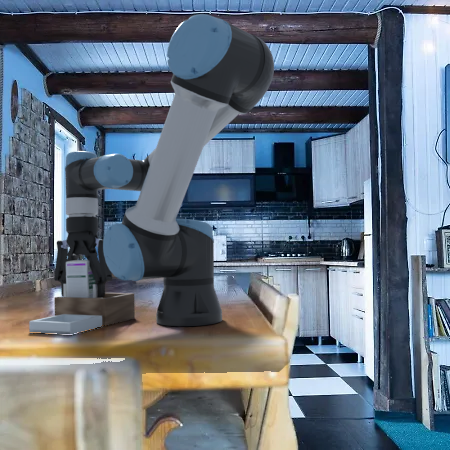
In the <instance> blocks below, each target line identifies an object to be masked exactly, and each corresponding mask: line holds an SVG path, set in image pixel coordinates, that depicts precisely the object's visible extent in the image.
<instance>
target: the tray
mask: <svg viewBox="0 0 450 450" xmlns="http://www.w3.org/2000/svg"><path fill="white" fill-rule="evenodd" d="M28 324H29V328H28V329H29V332H41V333H57V334H74V333H77V332H81V331H85V330H89V329H94V328H97V327H101V326H102V316H97V315H75V314H61V315H56V316H55V315H53V316H47V317H43V318H38V319H34V320H29V322H28ZM102 327H103V326H102ZM102 327H101V328H102ZM97 329H98V328H97ZM94 330H95V329H94Z"/></svg>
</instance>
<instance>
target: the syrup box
mask: <svg viewBox="0 0 450 450" xmlns="http://www.w3.org/2000/svg"><path fill="white" fill-rule="evenodd" d="M95 282H96V281H95V279H94V276H93V273H92V271H91V268H90V265H89V261H88V260H87V259H78V260H74V261H67V262H66V293H67V297H79V298H93V284H94V283H95Z"/></svg>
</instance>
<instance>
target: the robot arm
mask: <svg viewBox="0 0 450 450" xmlns="http://www.w3.org/2000/svg"><path fill="white" fill-rule="evenodd" d="M166 57H167V58H168V59H167V65H168V68H169V70H170V71H171V73H172V77H171V80H170V84H171V87H172V89H173V91H174V96H173V99H172V102H171V105H170V107H169V110H168V113H167V116H166V119H165V121H164V123H163V127H162V129H161V133H160V134H159V135H160V136H159V139H158V141H157V144H156V147H155V149H153V150H152V151H151V152H150V153H149V154H148V155H147V156H146V157H145V158H144V159H143V160H140V159H139V160H138V159H131V158H127V157H126V156H125V155H123V154H120V153H107V154H104V155H101V156H98V155H97V154H96V153H94V152H92V151H85V150H84V151H83V150H78V151H70V152H68V153H67V154H66V156H65V167H64V173H65V178H64V179H65V215H66V216H68V217H66V218H65V232H66V233H67V237H66V239H64V240H63V239H62V240H57V241H56V248H57V253H56V260H55V270H54V277H53V280H54V281H55V282H60V284H61V285H60V286H61V288H60V289H61V297H67V293H66V262H67V261H74V260H79V258H80V257H81V256H84V257H85V259H86V260H88V261H89V265H90V268H91V271H92V273H93V276H94V279H95V281H96V282H95V283H94V284H93V298H103V297H105V293H106V284H107V283H108V282H111V281H112V280H113V276H114V277H115V278H117V279H118V280H121V281H135V282H139V281H141V280H151V279H152V280H153V279H162V278H163V287H162V288H163V289H162V293H161V297H160V300H159V304H158V307H157V310H156V312H155V314H156V316H155V317H156V318H155V320H156V321H155V322H156V324H159V325H162V326H168V327H169V326H170V327H171V326H172V327H195V326H196V327H199V326H200V327H201V326H208V325H213V324H218V323H221V322H222V321H223V311H222V307H221V304H220V301H219V298H218V295H217V292H216V289H215V271H214V269H215V263H214V261H215V258H214V255H215V254H214V251H215V248H214V245H215V244H214V243H215V239H214V234H213V231H214V230H213V227H212V226H211V224H209V223H208V222H206V221H202V220H198V219H192V218H191V219H187V218H177V217H178V214H179V211H180V209H181V207H182V204H183V201H184V199H185V196H186V194H187V190H188V188H189V186H190V182H191V181H192V178H193V175H194V173H195V170H196V167H197V164H198V162H199V159H200V157H201V155H202V152H203V149H204V147H205V146H206V145H207V144H209V143H210V141H211V140H213V139H214V138H215V137H216V136H217V135H218V134H219V133H220V132H221V131H222V130H223V129H224V128H226V127H227V126H228V125H229V124H230V123H231V122H233V120H234V119H235V118H236V117H238V115H240V114H241V115H246V114H248V112H250V111H251V110H252V109H253V108H254V107H255V106H256V105H258V103H259V102H260V101H261V100H262V99H263V97H264V96H265V95H266V93H267V91H268V90H269V88H270V86H271V83H272V82H273V77H274V74H275V73H274V72H275V62H274V61H275V60H274V57H273V54H272V51H271V49H270V48H269V46H268V44H267V43H266V42H265V41H264V40H263V39H261V38H260V37H259V36H257V35H255V34H253V33H249V32H247V31H245V30H243V29H241V28H239V27H237V26H235V25H233V24H231V23H229V22H228V21H226V20H224V19H222V18H219V17H215V16H213V15H210V14H206V13H205V14H204V13H200V14H194V15H192V16H190V17H188V19H186V20H183V22H181V23H180V24H179V25H178V27H176V30H175V31H173V34H172V36H171V37H170V41H169V43H168V47H167V53H166ZM99 190H100V191H101V190H119V191H132V192H133V191H134V192H139V195H138V199H137V201H136V203H135V205H133V206H131V207H128V208H127V209H126V210H125V213H124V216H123V218H122V222H121V223H118V222H116V223H114V224H112V225H111V226H108V228H107V229H106V231H105V232H104V237H103V239H100V238H99V236H98V232H99V218H98V217H96V216H98V215H99ZM96 248H97V249H96Z"/></svg>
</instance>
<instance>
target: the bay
mask: <svg viewBox="0 0 450 450" xmlns="http://www.w3.org/2000/svg"><path fill="white" fill-rule="evenodd" d="M53 299H54V316H56V315H61V314H75V315H97V316H102V325H108V326H110V325H109V324H112V325H115V324H118V322H119V323H122V322H126V321H129V320H134V319H135V318H136V316H135V315H136V314H135V310H136V309H135V293H134V292H133V293H131V292H127V293H126V292H125V293H124V292H105V297H103V298H79V297H62V296H55V297H54V298H53ZM114 323H115V324H114Z"/></svg>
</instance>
